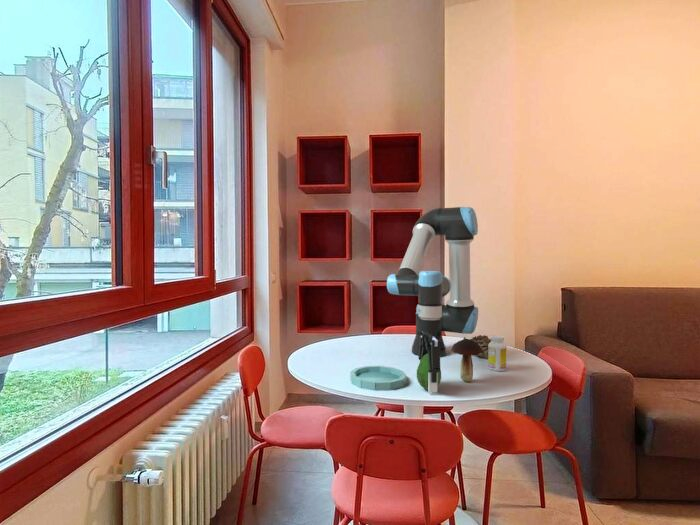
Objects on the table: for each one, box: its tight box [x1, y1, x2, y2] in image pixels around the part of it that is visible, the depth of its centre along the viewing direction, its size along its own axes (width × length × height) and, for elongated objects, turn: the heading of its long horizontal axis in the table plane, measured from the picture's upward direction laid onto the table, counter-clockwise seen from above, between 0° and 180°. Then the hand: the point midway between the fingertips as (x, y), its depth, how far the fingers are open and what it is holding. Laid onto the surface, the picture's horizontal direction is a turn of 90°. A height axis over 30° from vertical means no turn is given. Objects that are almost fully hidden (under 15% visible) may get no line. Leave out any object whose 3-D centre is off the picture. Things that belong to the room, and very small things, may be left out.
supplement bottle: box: [487, 335, 507, 372], centre depth 150 cm, size 7×7×13 cm
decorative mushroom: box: [450, 338, 483, 383], centre depth 135 cm, size 11×11×15 cm
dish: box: [349, 365, 407, 391], centre depth 135 cm, size 19×19×2 cm
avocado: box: [416, 353, 442, 391], centre depth 127 cm, size 8×8×12 cm
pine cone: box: [463, 334, 492, 358], centre depth 171 cm, size 22×10×10 cm, turn 19°
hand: (428, 387), depth 127 cm, fingers closed on avocado, 8 cm apart
